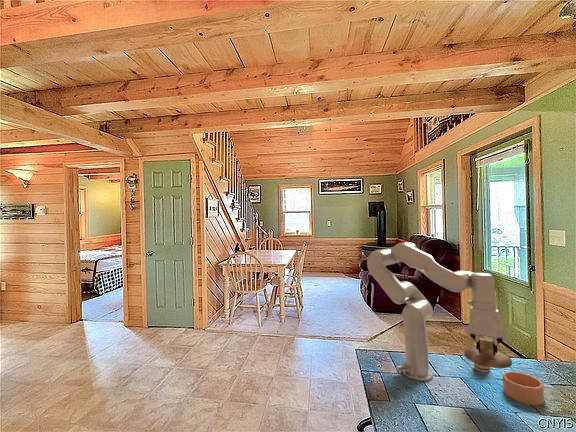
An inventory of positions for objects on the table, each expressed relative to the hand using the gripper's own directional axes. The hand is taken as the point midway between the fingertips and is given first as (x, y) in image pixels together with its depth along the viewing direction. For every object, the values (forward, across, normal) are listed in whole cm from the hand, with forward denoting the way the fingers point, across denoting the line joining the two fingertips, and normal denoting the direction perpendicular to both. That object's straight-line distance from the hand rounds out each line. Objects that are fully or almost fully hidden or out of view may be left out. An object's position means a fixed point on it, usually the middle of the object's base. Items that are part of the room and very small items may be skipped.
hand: (486, 352), depth 108 cm
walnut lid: (+2, 0, 0) cm, 2 cm away
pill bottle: (+18, -2, +25) cm, 30 cm away
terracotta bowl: (+18, +11, +10) cm, 23 cm away
